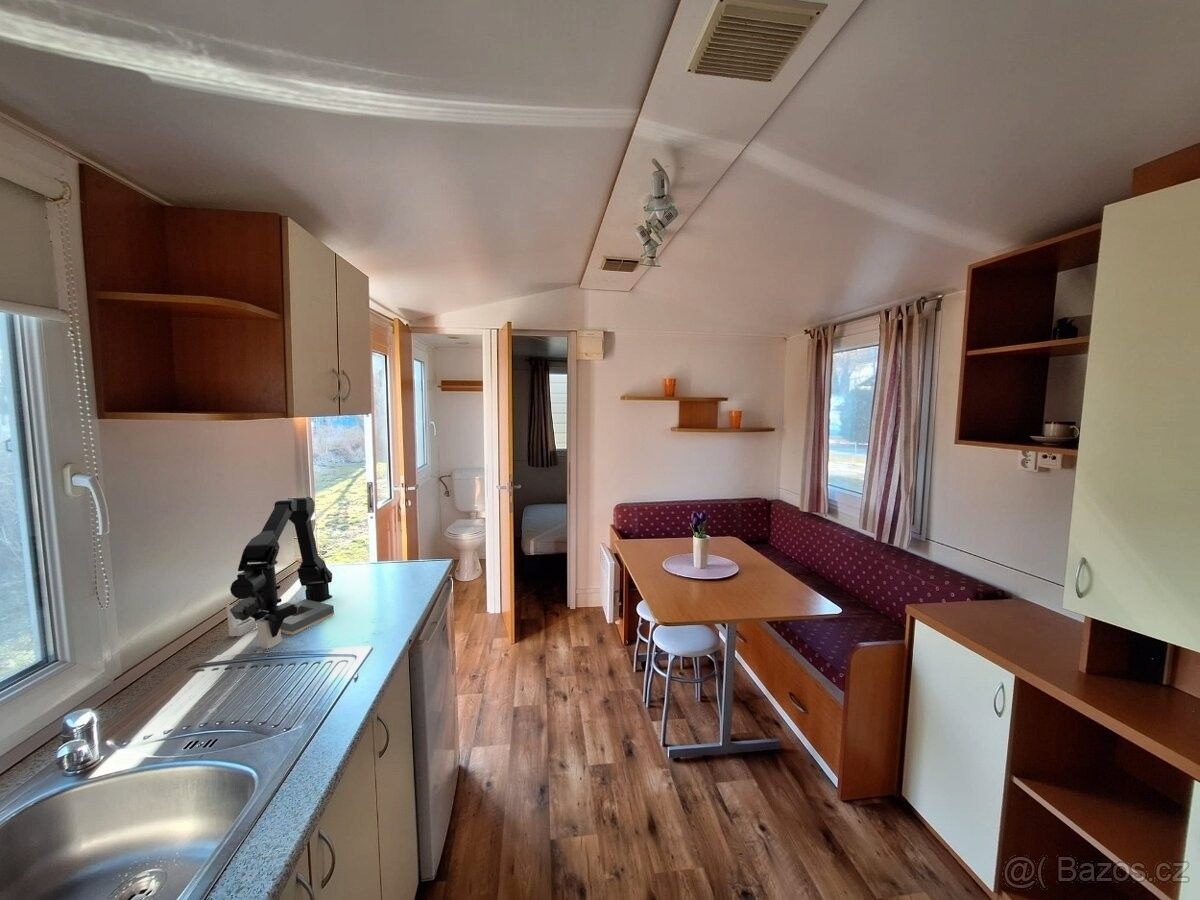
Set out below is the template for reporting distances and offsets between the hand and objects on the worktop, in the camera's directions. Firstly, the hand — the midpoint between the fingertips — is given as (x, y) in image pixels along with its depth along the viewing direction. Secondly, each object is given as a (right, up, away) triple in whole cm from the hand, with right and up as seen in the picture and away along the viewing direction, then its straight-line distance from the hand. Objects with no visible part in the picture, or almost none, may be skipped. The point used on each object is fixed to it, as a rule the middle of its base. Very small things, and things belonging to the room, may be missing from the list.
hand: (269, 635), depth 138 cm
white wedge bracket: (-14, -2, +8) cm, 16 cm away
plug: (0, -3, 0) cm, 3 cm away
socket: (-1, -1, +15) cm, 15 cm away
